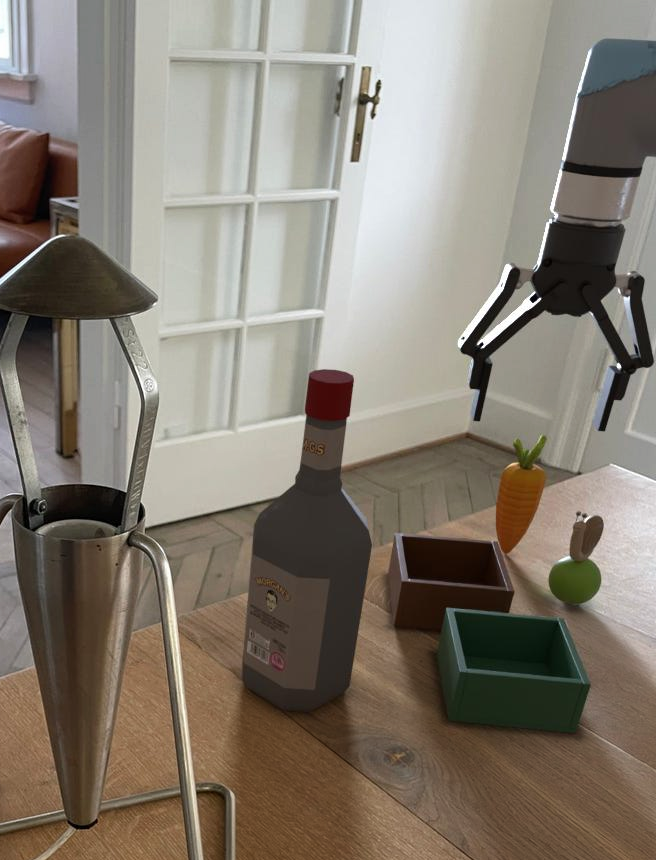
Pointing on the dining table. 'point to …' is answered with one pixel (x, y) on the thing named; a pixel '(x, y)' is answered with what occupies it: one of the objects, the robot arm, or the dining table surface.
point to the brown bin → (445, 579)
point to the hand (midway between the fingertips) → (536, 422)
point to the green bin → (511, 670)
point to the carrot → (519, 495)
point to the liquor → (308, 567)
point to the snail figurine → (578, 564)
